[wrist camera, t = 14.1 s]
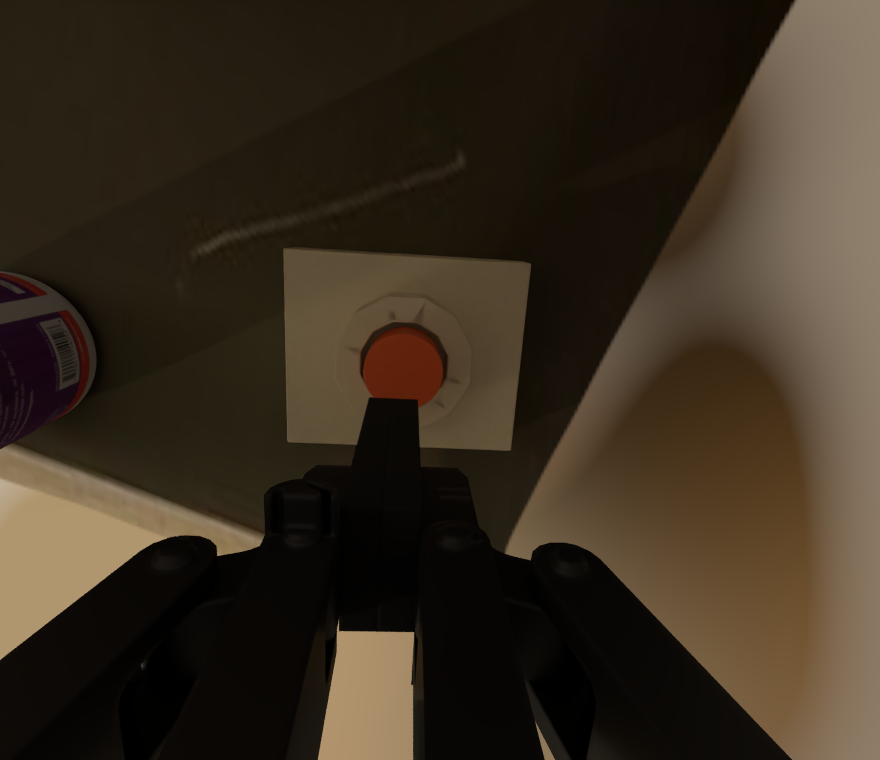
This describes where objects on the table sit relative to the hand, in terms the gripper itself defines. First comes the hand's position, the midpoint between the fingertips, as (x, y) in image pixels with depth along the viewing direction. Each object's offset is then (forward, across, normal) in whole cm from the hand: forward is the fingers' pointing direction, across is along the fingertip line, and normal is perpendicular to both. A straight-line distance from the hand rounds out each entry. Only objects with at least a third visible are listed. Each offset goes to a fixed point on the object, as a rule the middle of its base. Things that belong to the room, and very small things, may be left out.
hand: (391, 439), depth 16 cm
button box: (+13, 0, 0) cm, 13 cm away
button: (+9, 0, 0) cm, 9 cm away
